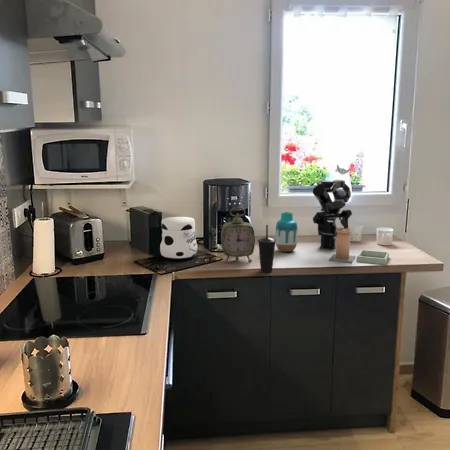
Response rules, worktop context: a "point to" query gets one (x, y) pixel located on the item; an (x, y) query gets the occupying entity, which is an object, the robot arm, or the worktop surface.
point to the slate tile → (342, 259)
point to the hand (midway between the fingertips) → (339, 231)
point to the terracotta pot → (343, 243)
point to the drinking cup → (266, 252)
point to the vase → (286, 232)
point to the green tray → (373, 259)
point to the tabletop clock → (237, 238)
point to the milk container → (178, 238)
